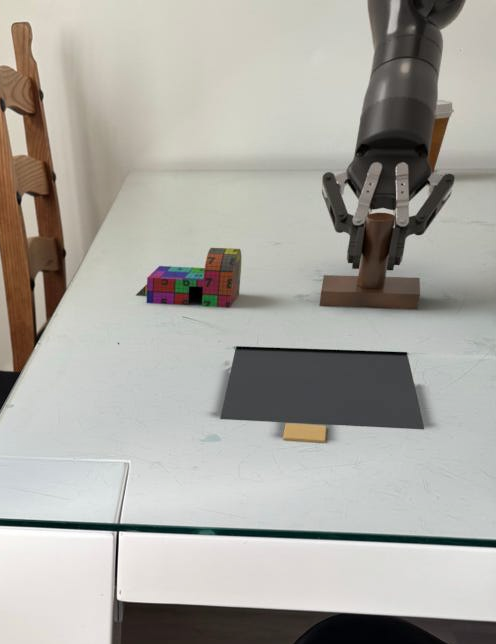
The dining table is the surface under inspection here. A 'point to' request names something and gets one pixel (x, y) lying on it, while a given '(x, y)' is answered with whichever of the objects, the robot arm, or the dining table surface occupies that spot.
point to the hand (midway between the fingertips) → (373, 264)
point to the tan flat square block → (305, 433)
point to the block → (198, 281)
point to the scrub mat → (322, 387)
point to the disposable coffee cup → (439, 129)
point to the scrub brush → (372, 275)
